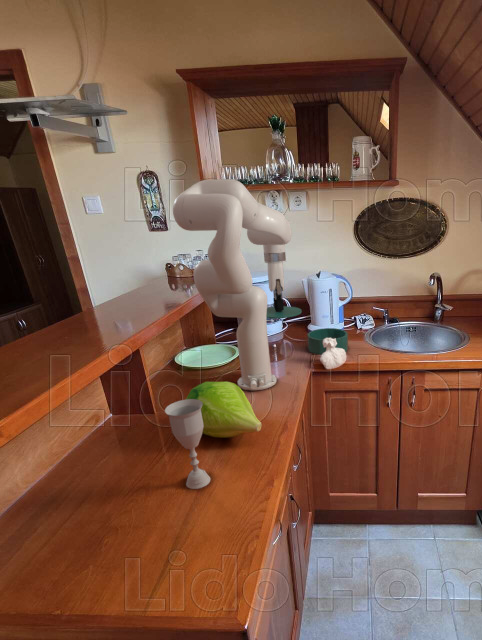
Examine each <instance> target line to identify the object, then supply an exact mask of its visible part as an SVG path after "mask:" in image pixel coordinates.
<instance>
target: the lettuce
mask: <svg viewBox="0 0 482 640" xmlns="http://www.w3.org/2000/svg"><path fill="white" fill-rule="evenodd" d="M186 399H196V400H200V401H201V402H202V404H203V405H202V408H201V414H202V419H203V425H204V427H203V432H202V435H203V434H204V435H205V436H209V437H213V438H222V439H223V438H225V439H229V438H233V437H238V436H240V435H243V434H245V433H257V432H260V431H261V429H262V426H263V425H262V422H261V421H260V420H259V419H258V418H257V416H256V414H255V412H254V410H253V407H252V404H251V403H250V401H249V399H248V397H247V395H246V394H245V392H244V390H243V389H242V388H240V387H239V386H238V384H236V383H234V382H230V381H204V382H202V383H200V384H197V385H196V386H194V387H193V388H191V389H190V391H189V392H188V394H187V396H186V398H185V400H186Z"/></svg>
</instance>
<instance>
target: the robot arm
mask: <svg viewBox="0 0 482 640" xmlns="http://www.w3.org/2000/svg"><path fill="white" fill-rule="evenodd" d="M172 215H173V219H174V221H175V223H176V224H177V225H178V226H179V227H180V228H181V229H183V230H184V231H189V232H201V231H205V232H208V231H209V232H210V231H216V233H215V236H214V237H213V239H212V240H211V241H210V244H209V247H208V249H207V257H208V259H203V260H200V261H198V262H197V264H195V267H194V269H193V282H194V285H195V288H196V290H197V292H198V293H199V295H200V297H201V298H202V299H203V301H204V303H205V304H206V306H207V307H208V309H209V310H210V312H211V313H212V314H213V315H214V316H216V317H218V318H219V317H220V318H239V319H242V320H241V321H240V323H239V325H238V327H237V328H236V333H235V335H236V342H237V343H236V345H237V351H238V358H239V367H240V375H241V377H239V378H238V380H237V386H238V387H240V389H241V390H243V391H244V390H245V391H262V390H266V389H269V388H272V387H273V386H274V385H276V384H277V376H276V375H275V374H273V373H272V369H271V357H270V348H269V347H270V346H269V337H268V325H267V324H268V323H267V322H268V321H267V318H266V317H267V308H268V295H267V293H266V291H265V290H264V289H263V288H262V287H259V286H257V285H253V281H254V280H253V276H252V273H251V271H250V268H249V266H248V264H247V261H246V259H245V257H244V255H243V252H242V250H241V247H240V245H241V237H242V229H245V230H246V237H247V238H248V240H249V242H250V243H252V244H253V245H256V246H262V248H263V259H264V263H265V264H267V279H268V289H269V291H270V292H271V293H273V307H274V308H275V310H276V311H279V310H284V306H285V305H284V298H283V291H285V275H284V263H286V262H287V258H286V257H287V256H286V245H287V244H289V243H290V242H291V239H292V234H293V233H292V227H291V225H290V223H289V221H288V219H287V218H286V217H285V215H284V214H283V213H282V212H281V211H279V210H277V209H275V208H272V207H269V206H267V205H265V204H262V203H261V202H258V201H257V200H256V198H255V197H254V196H253V195H252V193H250V191H249V190H248V189H247V187H246V186H245V185H244V184H243V183H242V182H240V181H239V180H237V179H232V178H223V179H222V178H221V179H220V178H219V179H203V180H200V181H198V182H196V183H194V184H192V185H191V186H189V187H187V189H185V190H184V191H182V192H181V193H180V194H178V196H176V198H175V199H174V201H173V205H172Z"/></svg>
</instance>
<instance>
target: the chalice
mask: <svg viewBox="0 0 482 640" xmlns="http://www.w3.org/2000/svg"><path fill="white" fill-rule="evenodd" d="M202 405H203V404H202V402H201V401H200V400H196V399H186V398H185V399H182V400H178V401H175V402H173V403H170V404H169V405H167V406H166V407H165V409H164V413H165V414H166V415H167V416H168V419H169V424H170V428H171V433H172V435H173V436H174V438H175V439H176V440H177V442H179V444H180V445H181V446H182V447H183V448H184V449H186V450H189V455H188V457H189V458H190V459H191V461H190V465H191V466H192V470H191V471H190V472H189V473H188V475H187V479H186V482H185V485H186V487H187V488H188V489H189V490H190V489H192V490H197V489H202V488H204V487H206V486H207V485H209V484H210V482H211V477H210V476H209V474H208V473H207V472H206V470H205V469H202V468H199V463H200V460H198V458H197V456H198V453H197V452H196V449H195V448H197V447H198V446H199V443H200V441H201V438H202V436H203V433H202V432H203V427H204V425H203V419H202V414H201V408H202Z"/></svg>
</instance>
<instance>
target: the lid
mask: <svg viewBox="0 0 482 640" xmlns="http://www.w3.org/2000/svg"><path fill="white" fill-rule="evenodd" d="M302 312H303V311H302V309H301V308H300V307H297V306H287V305H286V306H285V305H284V310H279V311H276V310H275V308H274V306H271V307H267V317H266V319H273V320H275V319H276V320H277V319H280V320H281V319H287V318H292V317H296V316H299V315H301V314H302Z"/></svg>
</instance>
